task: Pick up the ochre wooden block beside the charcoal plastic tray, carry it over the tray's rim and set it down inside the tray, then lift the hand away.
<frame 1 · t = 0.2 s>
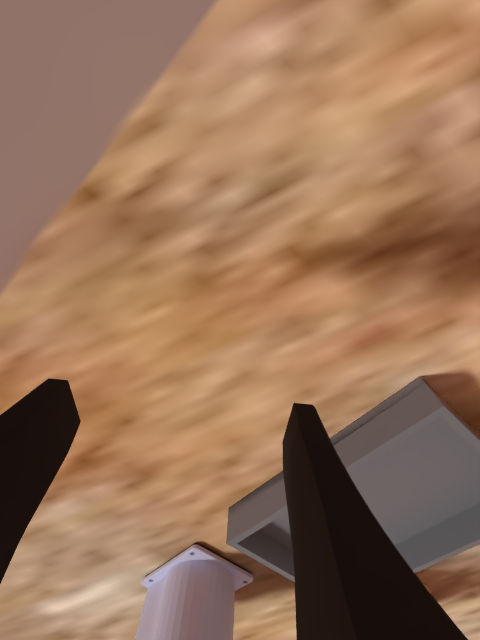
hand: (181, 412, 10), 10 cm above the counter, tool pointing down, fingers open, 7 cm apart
charcoal tray: (366, 492, 27), on the counter
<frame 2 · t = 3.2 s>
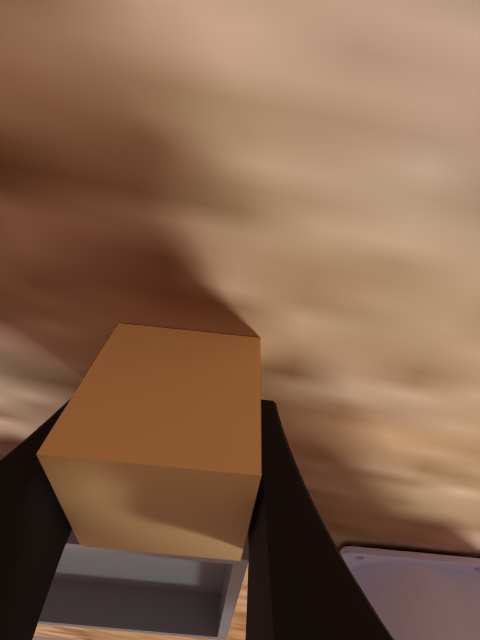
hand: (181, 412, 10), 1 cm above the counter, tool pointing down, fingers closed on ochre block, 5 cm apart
ochre block: (189, 380, 12), on the counter, touching gripper
charcoal tray: (75, 530, 19), on the counter
when the fingers open (4 cm above the counter, at t = 7.2 s): ochre block drops 2 cm, resting on charcoal tray.
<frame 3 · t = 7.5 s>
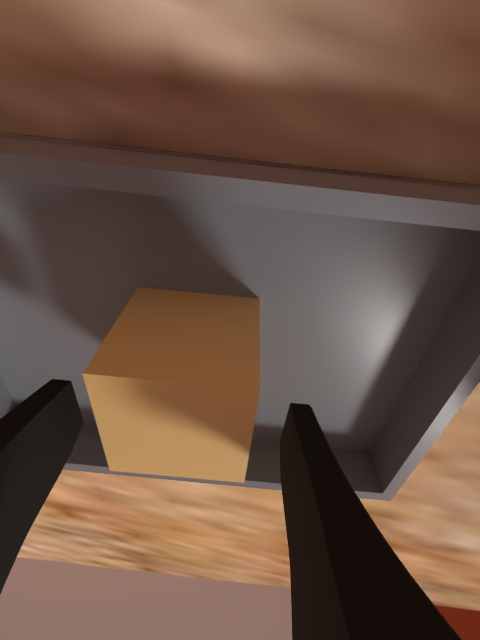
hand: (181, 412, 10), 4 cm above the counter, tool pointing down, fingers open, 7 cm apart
ochre block: (198, 340, 13), point 1 cm above the counter, touching charcoal tray
charcoal tray: (201, 331, 14), on the counter
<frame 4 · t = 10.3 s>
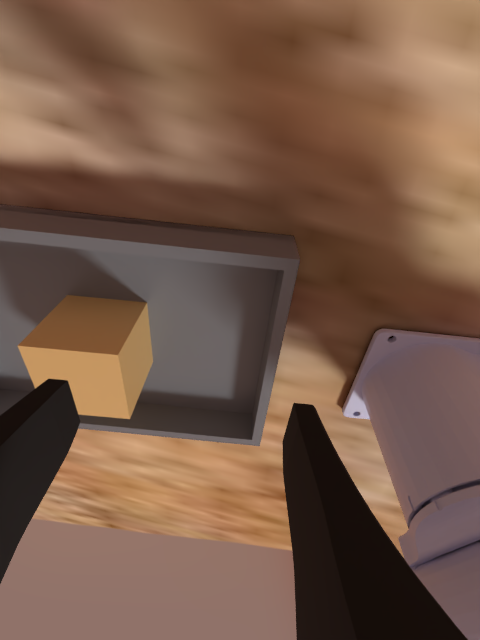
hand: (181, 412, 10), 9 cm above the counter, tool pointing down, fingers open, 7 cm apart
ochre block: (113, 330, 20), point 1 cm above the counter, touching charcoal tray
charcoal tray: (118, 324, 20), on the counter
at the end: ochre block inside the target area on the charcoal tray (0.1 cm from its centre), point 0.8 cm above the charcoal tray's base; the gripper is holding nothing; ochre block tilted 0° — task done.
